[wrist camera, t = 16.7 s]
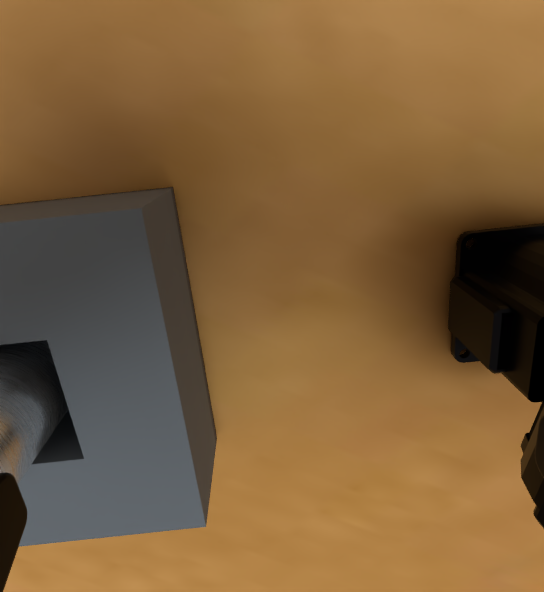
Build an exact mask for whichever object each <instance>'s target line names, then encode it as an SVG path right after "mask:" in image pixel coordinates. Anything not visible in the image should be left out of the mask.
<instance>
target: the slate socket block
mask: <svg viewBox="0 0 544 592" xmlns="http://www.w3.org/2000/svg"><path fill="white" fill-rule="evenodd" d="M42 340H47V342H48V345H49V348H50V351H51V354H52V358H53V361H54V364H55V367H56V370H57V374H58V377H59V380H60V383H61V386H62V390H63V393H64V396H65V399H66V402H67V405H68V411H67V412H66V414H65V415H64V417H63V418H62V419H61V421H60V422H59V424H58V425H57V427H56V428H55V430H54V431H53V433H52V434H51V436H50V437H49V439H48V440H47V442H46V443H45V445H44V446H43V448H42V449H41V451H40V452H39V454H38V455H37V457H36V458H35V460H34V461H33V463H32V464H31V466H30V467H29V469H28V470H27V472H26V473H25V475H24V476H23V478H22V479H21V481H20V482H19V484H18V487H19V489H20V492H21V494H22V497H23V499H24V502H25V504H26V507H27V522H26V526H25V529H24V532H23V535H22V538H21V541H20V544H19V546H28V545H38V544H47V543H57V542H66V541H75V540H85V539H94V538H104V537H113V536H122V535H132V534H141V533H151V532H160V531H169V530H179V529H188V528H198V527H206V522H207V514H208V506H209V498H210V490H211V482H212V473H213V465H214V457H215V449H216V441H217V437H216V431H215V425H214V419H213V414H212V408H211V402H210V397H209V391H208V385H207V379H206V374H205V368H204V362H203V356H202V351H201V345H200V339H199V334H198V328H197V322H196V316H195V311H194V305H193V299H192V294H191V288H190V282H189V276H188V271H187V265H186V259H185V253H184V248H183V242H182V236H181V231H180V225H179V219H178V213H177V208H176V202H175V196H174V191H173V187H169V188H160V189H150V190H140V191H131V192H121V193H112V194H102V195H93V196H83V197H74V198H64V199H55V200H45V201H36V202H26V203H17V204H7V205H0V345H4V344H14V343H23V342H33V341H42ZM19 546H18V547H19Z"/></svg>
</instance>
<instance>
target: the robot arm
mask: <svg viewBox="0 0 544 592" xmlns="http://www.w3.org/2000/svg"><path fill="white" fill-rule="evenodd" d="M472 238H473V241H474V242H473V244H472V245H471V246H470V247H468V248H467V246H466V244H467V241H468V240H469V239H472ZM448 329H449V330H450V331H451V332H452V343H451V353H452V355H453V357H454V358H455V359H456V360H457V361H459V362H463V363H465V362H474V361H480V362H481V363H482V364H483V365H484V366H485V367H486V368H487V369H489V370H490V371H491V372H492V373H494V374H496V373H502V374H503V375H504V376H505V377H506V378H507V379H508V380H509V381H510V382H511V383H512V384H513V385H514V386H515V387H516V388H517V389H518V390H519V391H520V392H521V393H522V394H523V395H524V396H525V397H527V398H528V399H529V400H530V401H531V402H542V404H541V406H540V409H539V411H538V413H537V416H536V418H535V421H534V423H533V425H532V428H531V430H530V432H529V433H526V434H525V436H524V439H523V441H522V443H521V448H522V451H523V456H522V459H521V478H522V480H523V482H524V484H525V486H526V488H527V490H528V491H529V493H530V495H531V497H532V499H533V501H534V502H535V504H536V507H535V509H534V516H535V518H536V519H537V521H538V522H539V524H540V525H541V526H542V527H543V528H544V223H542V224H532V225H523V226H513V227H504V228H494V229H485V230H475V231H467V232H464V233H463V234H461V235H460V237H459V238H458V241H457V250H456V268H455V277H454V278H453V279H452V281H451V282H450V300H449V320H448ZM463 349H466V351H465V352H464V353H463V354H460V352H461V351H462V350H463ZM26 522H27V507H26V504H25V502H24V499H23V497H22V494H21V492H20V489H19V487H18V484H17V482H16V479H15V477H14V476H13V475H12V474H11V473H7V472H4V473H0V592H3V590H4V587H5V584H6V581H7V578H8V576H9V573H10V570H11V567H12V564H13V561H14V558H15V555H16V552H17V549H18V546H19V544H20V541H21V538H22V535H23V532H24V529H25V526H26Z"/></svg>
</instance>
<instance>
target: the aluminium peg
mask: <svg viewBox="0 0 544 592" xmlns="http://www.w3.org/2000/svg"><path fill="white" fill-rule="evenodd" d="M67 411H68V405H67V402H66V399H65V396H64V393H63V390H62V386H61V383H60V380H59V377H58V374H57V370H56V367H55V364H54V361H53V358H52V354H51V351H50V348H49V345H48V342H47V340H42V341H33V342H23V343H14V344H4V345H0V473H4V472H7V473H11V474H12V475H13V476H14V477H15V479H16V482H17V484H19V482H20V481H21V479H22V478H23V476H24V475H25V473H26V472H27V470H28V469H29V467H30V466H31V464H32V463H33V461H34V460H35V458H36V457H37V455H38V454H39V452H40V451H41V449H42V448H43V446H44V445H45V443H46V442H47V440H48V439H49V437H50V436H51V434H52V433H53V431H54V430H55V428H56V427H57V425H58V424H59V422H60V421H61V419H62V418H63V417H64V415H65V414H66V412H67Z"/></svg>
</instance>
